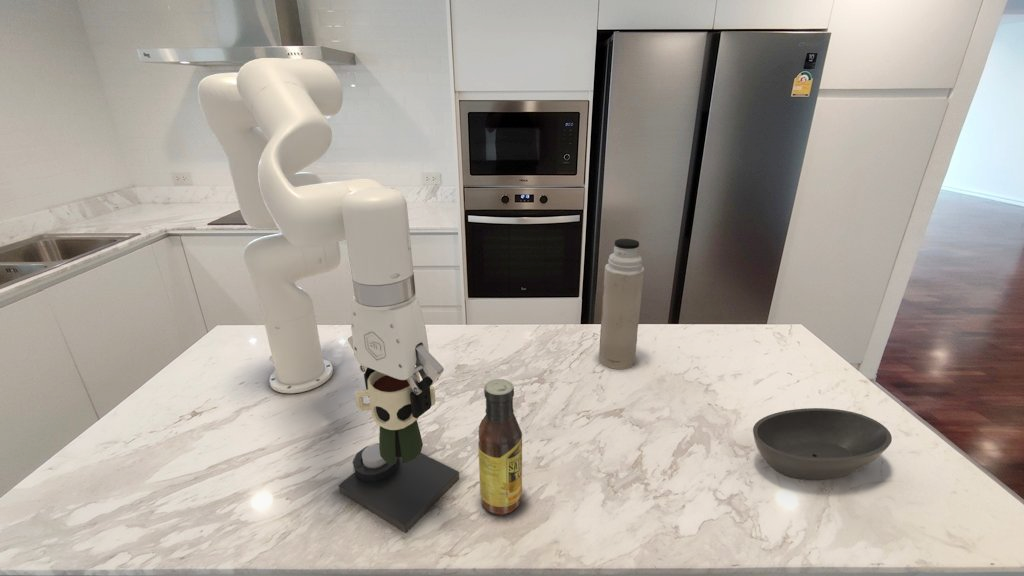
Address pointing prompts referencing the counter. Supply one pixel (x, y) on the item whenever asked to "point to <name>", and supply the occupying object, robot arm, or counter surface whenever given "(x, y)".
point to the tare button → (372, 457)
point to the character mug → (393, 416)
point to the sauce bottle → (500, 450)
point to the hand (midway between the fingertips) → (398, 401)
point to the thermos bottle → (621, 305)
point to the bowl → (819, 442)
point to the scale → (399, 488)
